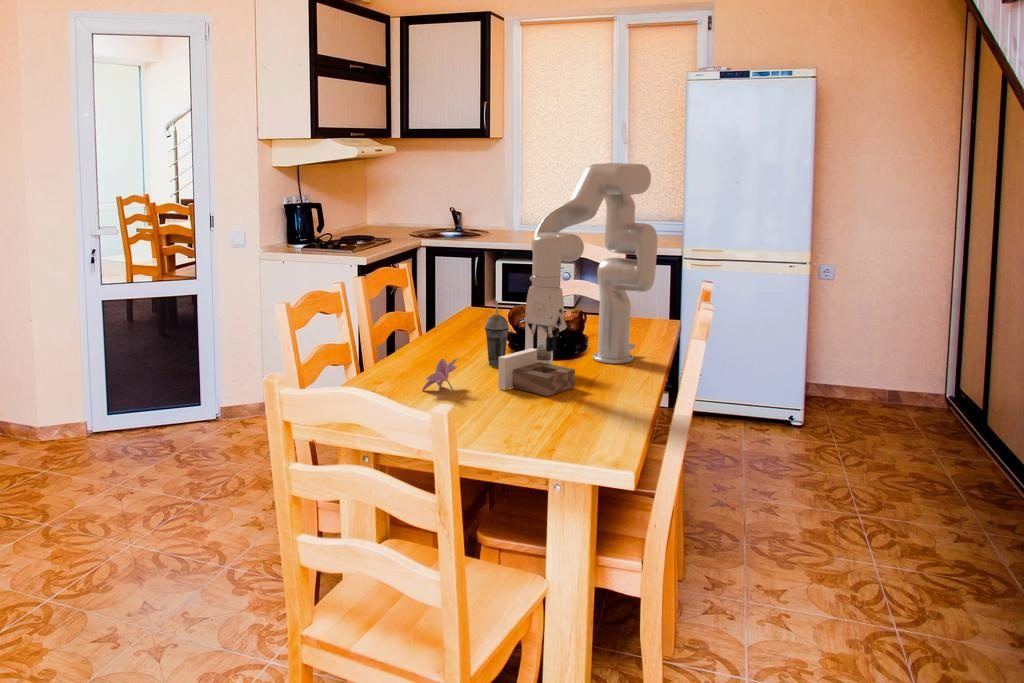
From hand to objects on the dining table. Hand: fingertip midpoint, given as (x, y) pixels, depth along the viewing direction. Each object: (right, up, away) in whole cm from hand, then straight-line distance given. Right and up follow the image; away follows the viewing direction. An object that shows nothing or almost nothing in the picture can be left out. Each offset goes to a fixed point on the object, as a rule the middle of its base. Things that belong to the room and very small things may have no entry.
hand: (544, 348), depth 241 cm
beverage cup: (-13, -6, +27) cm, 30 cm away
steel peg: (0, -3, +1) cm, 3 cm away
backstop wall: (-6, -10, +7) cm, 13 cm away
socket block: (0, -11, +3) cm, 11 cm away
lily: (-28, -12, -1) cm, 30 cm away
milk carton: (-1, -7, +21) cm, 22 cm away
